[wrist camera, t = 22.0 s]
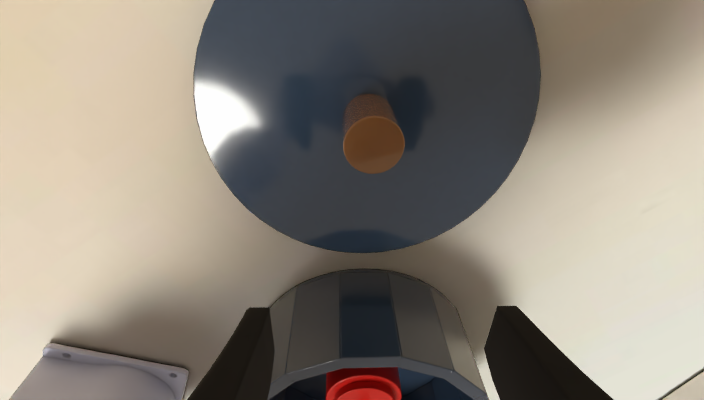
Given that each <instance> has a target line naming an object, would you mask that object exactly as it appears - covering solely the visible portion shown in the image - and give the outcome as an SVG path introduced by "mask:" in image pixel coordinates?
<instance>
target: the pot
mask: <svg viewBox="0 0 704 400" xmlns="http://www.w3.org/2000/svg"><path fill="white" fill-rule="evenodd" d="M270 316H271V324H272V332H273V340H274V348H275V354H274V362H273V371H272V378H271V385H270V390H269V395H268V399H267V400H326V374H327V373H328V372H332V371H335V370H339V369H342V368H384V367H398V372H399V378H400V385H401V391H402V398H401V400H489V398H488V395H487V393H486V390H485V387H484V384H483V381H482V379H481V376H480V373H479V370H478V368H477V365H476V362H475V359H474V356H473V354H472V351H471V348H470V345H469V342H468V340H467V337H466V334H465V331H464V329H463V326H462V323H461V320H460V317H459V315H458V312H457V309H456V308H455V307H454V306H453V305H452V304H451V302H450V301H449V300H448V299H447V298H446V297H445V296H444V295H443V294H442V293H440V292H439V291H438V290H436V289H435V288H434V287H432V286H430V285H429V284H427V283H425V282H423V281H421V280H419V279H416V278H414V277H411V276H408V275H405V274H401V273H397V272H392V271H385V270H378V269H354V270H344V271H338V272H332V273H329V274H325V275H321V276H318V277H315V278H313V279H310V280H308V281H305V282H303V283H301V284H299V285H298V286H296V287H294V288H292V289H291V290H289V291H288V292H286V293H285V294H284V295H282V296H281V297H280V298H279V299H278V300H277V301H276V302H275V303H274V304H273V305H272V306H271V307H270Z"/></svg>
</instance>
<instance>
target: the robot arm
mask: <svg viewBox="0 0 704 400" xmlns="http://www.w3.org/2000/svg"><path fill="white" fill-rule="evenodd" d="M484 350H485V354H486V358H487V361H488V365H489V369H490V372H491V376H492V379H493V382H494V385H495V387H496V390H497V393H498V395H499V398H500V400H613V399H612V398H611V397H610V396H609V395H608V394H607V393H605V392H604V391H603V390H602V389H601V388H600V387H599V386H598V385H596V384H595V383H594V382H593V381H592V380H591V379H590V378H589V377H588V376H586V375H585V374H584V373H583V372H582V371H581V370H580V369H579V368H578V367H577V366H576V365H575V364H574V363H573V362H572V361H571V360H570V359H568V358H567V357H566V356H565V355H564V354H563V353H562V352H561V351H560V350H559V349H558V348H557V347H556V346H555V345H554V344H553V343H552V342H551V341H550V340H549V339H548V338H547V337H546V336H545V335H544V334H543V333H542V332H541V331H540V330H539V329H538V328H537V327H536V325H535V324H534V323H533V322H532V321H531V320H530V319H529V318H528V317H527V316H526V315H525V314H524V313H523V312H522V311H521V310H520V309H519V308H518V307H517V306H497V309H496V312H495V315H494V318H493V322H492V325H491V328H490V331H489V335H488V338H487V341H486V344H485V347H484ZM274 354H275V348H274V340H273V332H272V324H271V316H270V308H249V309H247V310H246V312H245V314H244V316H243V318H242V319H241V321H240V323H239V325H238V326H237V328H236V330H235V331H234V333H233V335H232V336H231V338H230V339H229V341H228V343H227V344H226V346H225V347H224V349H223V350H222V352H221V353H220V355H219V356H218V358H217V359H216V361H215V362H214V364H213V365H212V367H211V368H210V370H209V371H208V372H207V374H206V375H205V376H204V378H203V379H202V380H201V382H200V383H199V385H198V386H197V387H196V389H195V390H194V391H193V393H192V394H191V395H190V397H189V398H188V399H187V400H267V399H268V395H269V390H270V385H271V378H272V371H273V362H274ZM188 375H189V372H188V370H186V369H184V368H180V367H175V366H169V365H164V364H159V363H154V362H148V361H143V360H138V359H133V358H128V357H122V356H117V355H112V354H107V353H102V352H96V351H91V350H86V349H81V348H76V347H70V346H65V345H60V344H55V343H50V344H47V345H46V346H45V347H44V349H43V357H42V358H41V359H40V361H39V362H38V363H37V365H36V366H35V367H34V368H33V370H32V371H31V372H30V373H29V375H28V376H27V377H26V379H25V380H24V381H23V382H22V384H21V385H20V386H19V387H18V389H17V390H16V391H15V393H14V394H13V395H12V396H11V398H10V399H9V400H182V399H183V395H184V391H185V387H186V383H187V379H188Z"/></svg>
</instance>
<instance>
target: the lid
mask: <svg viewBox="0 0 704 400" xmlns="http://www.w3.org/2000/svg"><path fill="white" fill-rule="evenodd" d="M540 78H541V72H540V56H539V48H538V43H537V38H536V33H535V28H534V26H533V23H532V20H531V17H530V14H529V12H528V9H527V6H526V4H525V2H524V0H215V1H214V3H213V5H212V7H211V10H210V12H209V14H208V16H207V19H206V21H205V23H204V26H203V29H202V33H201V36H200V40H199V43H198V47H197V52H196V59H195V67H194V102H195V110H196V117H197V122H198V125H199V129H200V133H201V136H202V140H203V143H204V145H205V147H206V150H207V152H208V155H209V157H210V159H211V161H212V163H213V165H214V166H215V168H216V170H217V172H218V173H219V175H220V177H221V179H222V180H223V181H224V183H225V184H226V185H227V187H228V188H229V189H230V191H231V192H232V193H233V194H234V195H235V197H236V198H237V199H238V200H239V201H240V202H241V203H242V204H243V205H244V206H245V207H246V208H247V209H248V210H249V211H251V212H252V213H253V214H254V215H255V216H257V217H258V218H259V219H260V220H262V221H263V222H265V223H266V224H268V225H269V226H271V227H272V228H274V229H275V230H277V231H279V232H281V233H283V234H285V235H287V236H289V237H291V238H293V239H295V240H298V241H300V242H303V243H306V244H308V245H311V246H315V247H319V248H323V249H327V250H333V251H340V252H350V253H373V252H384V251H390V250H396V249H401V248H405V247H409V246H412V245H416V244H419V243H421V242H424V241H426V240H429V239H432V238H434V237H436V236H438V235H440V234H442V233H444V232H446V231H448V230H450V229H451V228H453V227H455V226H456V225H458V224H459V223H461V222H462V221H464V220H465V219H467V218H468V217H469V216H470V215H472V214H473V213H474V212H475V211H477V210H478V209H479V208H480V207H482V206H483V205H484V204H485V203H486V201H487V200H488V199H489V198H490V197H491V196H492V195H493V194H494V193H495V192H496V191H497V190H498V189H499V187H500V186H501V185H502V184H503V182H504V181H505V180H506V179H507V177H508V176H509V174H510V173H511V171H512V169H513V168H514V166H515V165H516V163H517V161H518V160H519V158H520V156H521V154H522V151H523V149H524V147H525V145H526V143H527V141H528V138H529V135H530V132H531V129H532V126H533V123H534V120H535V116H536V111H537V106H538V101H539V92H540Z"/></svg>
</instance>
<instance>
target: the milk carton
mask: <svg viewBox="0 0 704 400" xmlns="http://www.w3.org/2000/svg"><path fill="white" fill-rule="evenodd" d="M662 400H704V372H702V373H701V374H699V375H698V376H696V377H695V378H693V379H692V380H690V381H689V382H687V383H686V384H684V385H683V386H681V387H680V388H678V389H677V390H676V391H674V392H673V393H671V394H670V395H668V396H667V397H665V398H664V399H662Z"/></svg>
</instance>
